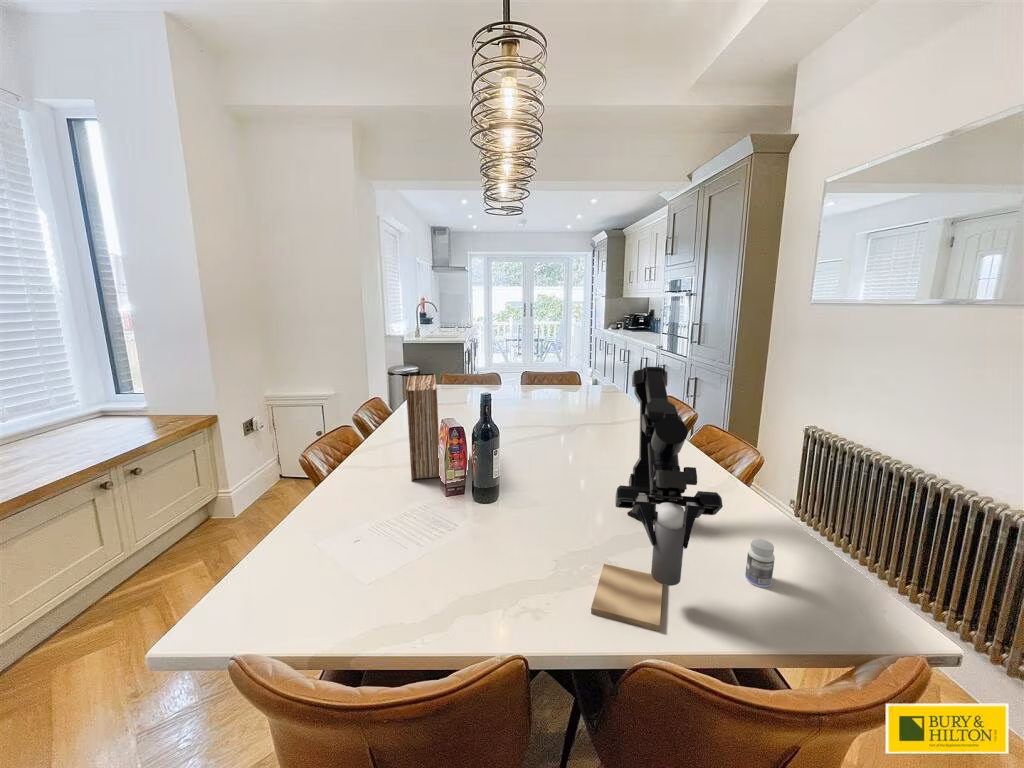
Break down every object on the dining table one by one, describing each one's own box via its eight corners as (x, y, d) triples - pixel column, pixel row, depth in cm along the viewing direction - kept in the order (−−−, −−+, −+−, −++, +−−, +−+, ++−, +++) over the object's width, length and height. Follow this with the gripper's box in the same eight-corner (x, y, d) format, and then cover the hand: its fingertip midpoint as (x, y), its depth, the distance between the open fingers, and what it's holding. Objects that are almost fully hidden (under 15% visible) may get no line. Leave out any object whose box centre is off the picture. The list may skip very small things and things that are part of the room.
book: (440, 479, 136) (436, 387, 130) (411, 481, 135) (405, 389, 128) (438, 451, 161) (434, 373, 154) (413, 453, 159) (408, 374, 153)
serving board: (603, 568, 91) (603, 563, 91) (662, 581, 87) (662, 576, 87) (590, 613, 79) (591, 607, 78) (659, 631, 74) (659, 625, 74)
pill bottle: (747, 570, 91) (751, 534, 89) (773, 579, 88) (778, 542, 86) (742, 581, 87) (747, 544, 85) (768, 591, 84) (774, 553, 83)
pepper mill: (665, 564, 83) (670, 499, 80) (686, 580, 79) (693, 511, 76) (645, 572, 81) (649, 505, 78) (665, 589, 77) (671, 518, 74)
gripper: (619, 446, 80) (620, 530, 72) (724, 452, 77) (738, 541, 69) (615, 468, 90) (615, 545, 81) (709, 474, 86) (719, 555, 78)
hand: (669, 546), depth 77 cm, fingers closed on pepper mill, 5 cm apart
